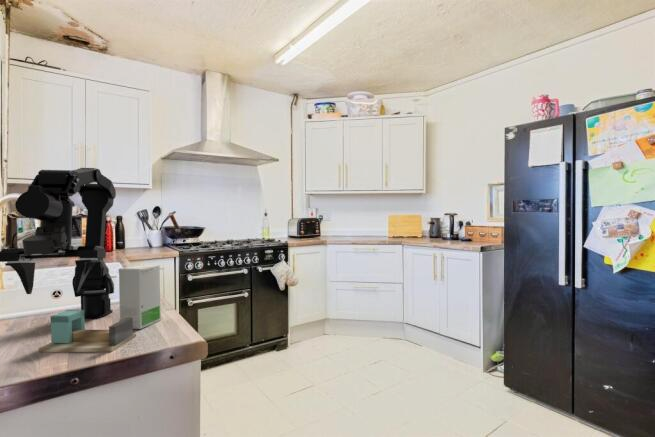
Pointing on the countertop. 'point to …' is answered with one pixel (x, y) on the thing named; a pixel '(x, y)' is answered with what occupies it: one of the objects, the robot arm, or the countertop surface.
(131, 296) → the skincare box
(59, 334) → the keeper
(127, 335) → the board
